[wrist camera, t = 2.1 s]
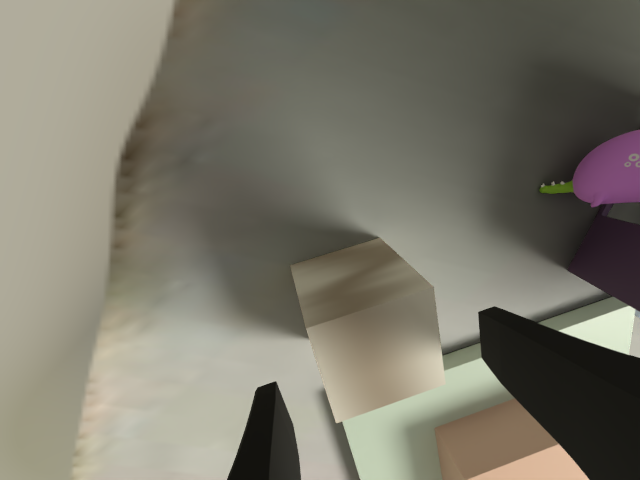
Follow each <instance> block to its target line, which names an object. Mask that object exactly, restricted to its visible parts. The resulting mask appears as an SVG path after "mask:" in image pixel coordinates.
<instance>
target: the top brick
mask: <svg viewBox="0 0 640 480" xmlns="http://www.w3.org/2000/svg"><path fill="white" fill-rule="evenodd" d="M290 267H291V271H292V275H293V279H294V283H295V287H296V291H297V295H298V299H299V303H300V307H301V311H302V315H303V319H304V323H305V327H306V331H307V334H308V337H309V340H310V343H311V346H312V349H313V353H314V356H315V359H316V362H317V365H318V368H319V371H320V375H321V378H322V381H323V384H324V387H325V390H326V393H327V396H328V400H329V403H330V406H331V409H332V412H333V415H334V418H335V422H336V423H339V422H342V421H344V420H347V419H350V418H353V417H356V416H358V415H361V414H364V413H367V412H370V411H372V410H375V409H378V408H381V407H384V406H386V405H389V404H392V403H395V402H398V401H400V400H403V399H406V398H409V397H412V396H414V395H417V394H420V393H423V392H426V391H428V390H431V389H434V388H437V387H440V386H442V385H445V384H446V382H445V374H444V366H443V358H442V350H441V342H440V334H439V327H438V319H437V311H436V303H435V295H434V287H433V286H432V285H431V284H430V283H429V282H428V281H427V280H425V279H424V278H423V277H422V276H421V275H420V274H419V273H418V272H417V271H416V270H415V269H414V268H412V267H411V266H410V265H409V264H408V263H407V262H406V261H405V260H404V259H403V258H402V257H400V256H399V255H398V254H397V253H396V252H395V251H394V250H393V249H392V248H391V247H390V246H388V245H387V244H386V243H385V242H384V241H383V240H382V239H381V238H377V239H374V240H370V241H367V242H364V243H361V244H357V245H354V246H351V247H348V248H344V249H341V250H338V251H335V252H331V253H328V254H325V255H322V256H318V257H315V258H312V259H309V260H305V261H302V262H299V263H296V264H292V265H290Z"/></svg>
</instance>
